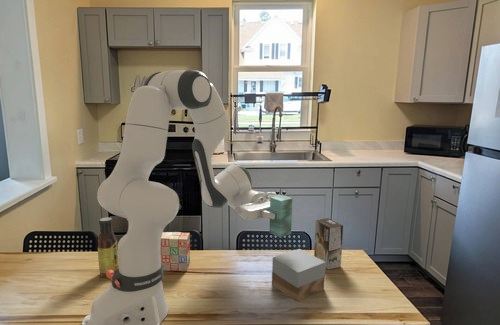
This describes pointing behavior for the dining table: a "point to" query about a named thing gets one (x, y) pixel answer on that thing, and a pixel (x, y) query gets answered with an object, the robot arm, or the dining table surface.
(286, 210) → the teal block
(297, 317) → the dining table surface
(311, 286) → the tower base
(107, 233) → the sauce bottle
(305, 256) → the tower top
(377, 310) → the dining table surface
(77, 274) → the dining table surface
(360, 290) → the dining table surface
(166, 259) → the stack of blocks
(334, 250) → the coffee box
